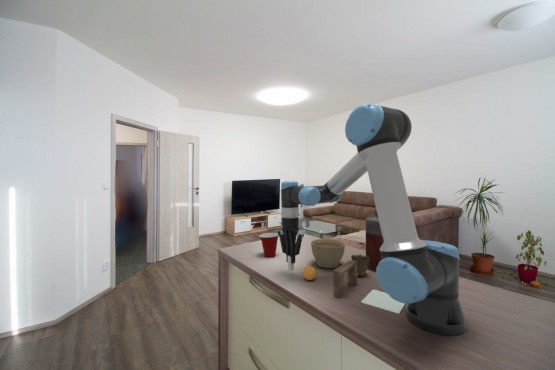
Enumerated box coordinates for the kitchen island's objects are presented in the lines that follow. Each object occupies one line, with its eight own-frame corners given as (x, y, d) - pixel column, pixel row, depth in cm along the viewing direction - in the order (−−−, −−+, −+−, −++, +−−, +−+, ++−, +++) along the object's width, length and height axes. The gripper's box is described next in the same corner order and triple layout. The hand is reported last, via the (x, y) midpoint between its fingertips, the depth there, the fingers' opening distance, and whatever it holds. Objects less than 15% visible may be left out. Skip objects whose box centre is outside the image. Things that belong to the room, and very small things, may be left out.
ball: (318, 278, 106) (318, 266, 106) (311, 283, 102) (311, 269, 102) (307, 275, 110) (307, 263, 110) (300, 280, 106) (300, 267, 105)
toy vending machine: (398, 269, 116) (398, 207, 115) (382, 274, 110) (382, 209, 109) (381, 263, 123) (380, 206, 122) (365, 268, 118) (365, 207, 117)
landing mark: (408, 299, 88) (408, 298, 88) (399, 314, 79) (399, 313, 79) (372, 289, 96) (372, 289, 96) (360, 302, 86) (360, 301, 86)
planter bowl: (344, 272, 113) (343, 248, 112) (308, 269, 118) (307, 245, 117) (346, 261, 128) (346, 239, 127) (314, 258, 133) (314, 237, 133)
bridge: (357, 284, 101) (357, 261, 100) (341, 298, 89) (341, 272, 89) (350, 282, 103) (349, 259, 102) (333, 296, 91) (333, 270, 91)
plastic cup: (267, 251, 146) (267, 231, 145) (283, 255, 139) (283, 233, 139) (255, 256, 137) (255, 234, 137) (271, 260, 131) (271, 237, 130)
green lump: (370, 279, 105) (370, 260, 105) (352, 277, 107) (352, 259, 107) (368, 272, 113) (367, 254, 112) (350, 271, 114) (350, 253, 114)
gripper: (307, 216, 110) (308, 270, 111) (283, 214, 118) (284, 264, 119) (297, 219, 104) (298, 276, 105) (273, 216, 112) (274, 269, 113)
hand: (291, 269), depth 112 cm, fingers closed
